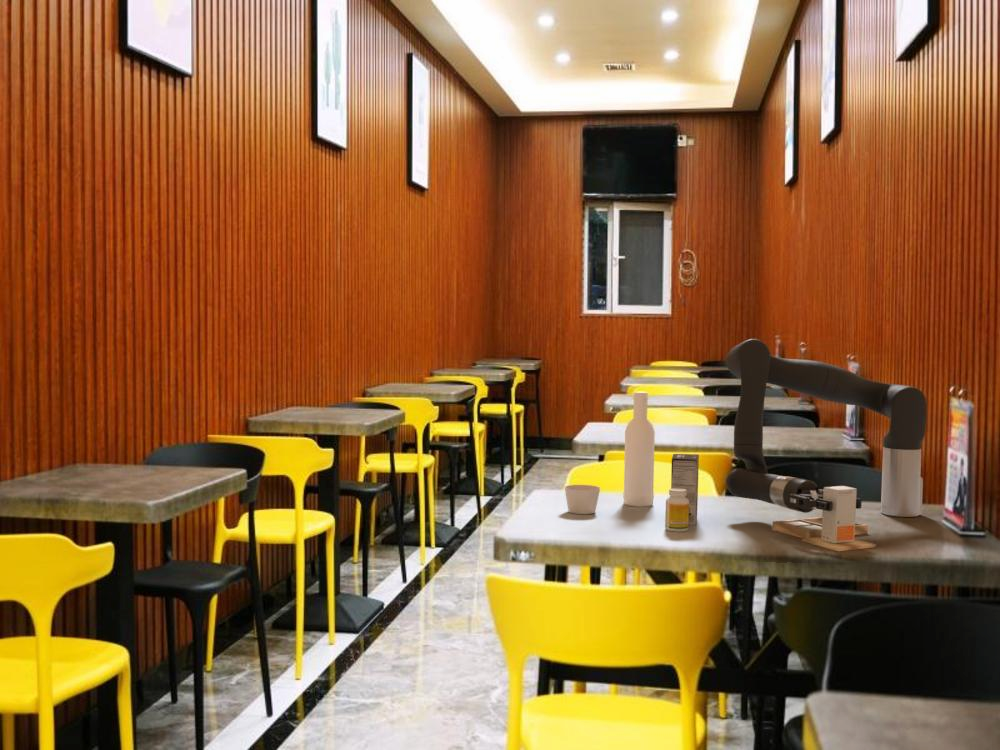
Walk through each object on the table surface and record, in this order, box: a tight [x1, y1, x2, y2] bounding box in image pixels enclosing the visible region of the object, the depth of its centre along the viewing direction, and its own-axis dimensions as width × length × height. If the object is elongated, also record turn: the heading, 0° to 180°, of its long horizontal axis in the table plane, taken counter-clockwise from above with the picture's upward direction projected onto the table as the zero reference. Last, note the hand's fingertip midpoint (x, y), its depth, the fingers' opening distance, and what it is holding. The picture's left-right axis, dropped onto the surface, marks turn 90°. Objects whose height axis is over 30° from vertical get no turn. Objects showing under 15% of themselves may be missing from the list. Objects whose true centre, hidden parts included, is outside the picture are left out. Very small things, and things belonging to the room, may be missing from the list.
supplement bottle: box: [664, 487, 689, 533], centre depth 242 cm, size 5×5×10 cm
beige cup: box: [564, 484, 601, 515], centre depth 263 cm, size 9×9×6 cm
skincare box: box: [821, 485, 858, 544], centre depth 228 cm, size 6×4×12 cm
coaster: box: [801, 537, 877, 552], centre depth 228 cm, size 11×11×1 cm
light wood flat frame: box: [772, 516, 869, 539], centre depth 242 cm, size 18×12×2 cm, turn 117°
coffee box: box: [670, 453, 700, 526], centre depth 252 cm, size 9×6×16 cm
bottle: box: [622, 391, 656, 508], centre depth 275 cm, size 8×8×30 cm
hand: (846, 505), depth 226 cm, fingers open, 8 cm apart
